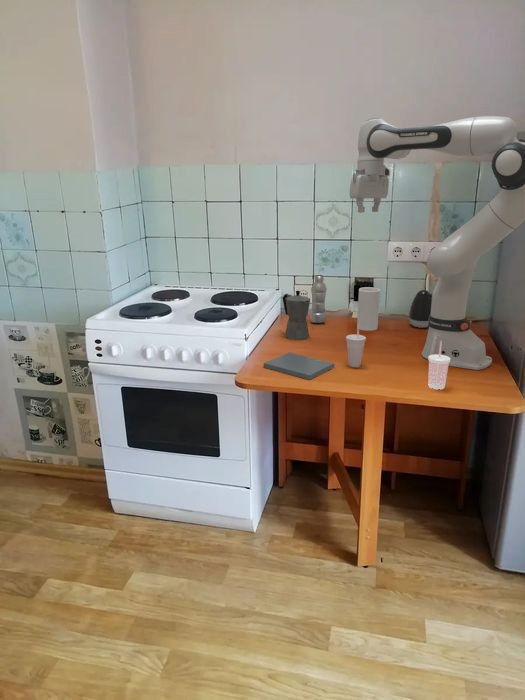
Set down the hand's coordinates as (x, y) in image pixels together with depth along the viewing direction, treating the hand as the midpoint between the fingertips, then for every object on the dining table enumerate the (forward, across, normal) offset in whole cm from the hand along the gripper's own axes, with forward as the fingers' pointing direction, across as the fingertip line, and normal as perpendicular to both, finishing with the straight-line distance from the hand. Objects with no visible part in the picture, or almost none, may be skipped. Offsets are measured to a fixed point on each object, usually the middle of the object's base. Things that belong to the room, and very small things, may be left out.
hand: (368, 212), depth 188 cm
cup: (+46, +18, +9) cm, 51 cm away
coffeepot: (+47, -10, +24) cm, 53 cm away
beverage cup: (+49, -24, -40) cm, 67 cm away
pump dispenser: (+46, +35, -7) cm, 58 cm away
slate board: (+48, -37, +1) cm, 61 cm away
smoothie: (+48, -24, -11) cm, 55 cm away
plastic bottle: (+46, +12, +29) cm, 55 cm away
